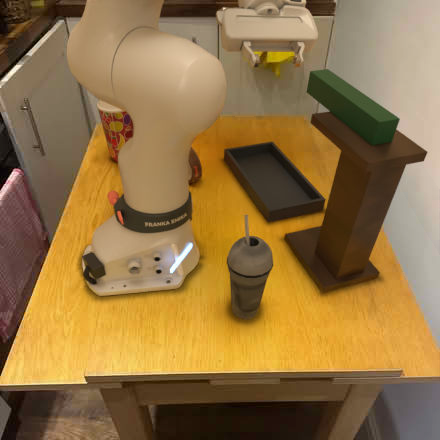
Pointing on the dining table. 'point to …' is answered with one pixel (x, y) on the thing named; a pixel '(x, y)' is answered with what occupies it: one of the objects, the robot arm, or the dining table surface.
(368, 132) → the long green square beam
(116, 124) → the smoothie
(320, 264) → the stand
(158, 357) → the dining table surface
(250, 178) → the tray
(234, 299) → the beverage cup
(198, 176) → the tin
